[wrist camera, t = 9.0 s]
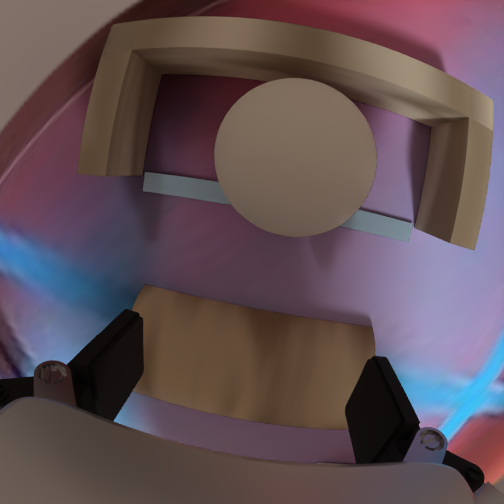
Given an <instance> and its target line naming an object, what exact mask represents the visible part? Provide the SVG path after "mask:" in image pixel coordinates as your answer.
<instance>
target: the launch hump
mask: <svg viewBox="0 0 504 504" xmlns="http://www.w3.org/2000/svg"><path fill="white" fill-rule="evenodd" d="M132 311H135V312H138V313H139V314H140V317H142V318H143V348H144V372H143V375H142V377H141V378H140V380H139V381H138V383H137V385H136V386H135V388H134V389H133V391H134V392H137V393H140V394H143V395H146V396H149V397H152V398H155V399H158V400H162V401H165V402H169V403H172V404H176V405H179V406H183V407H187V408H191V409H195V410H199V411H203V412H207V413H212V414H217V415H221V416H226V417H231V418H237V419H242V420H248V421H254V422H260V423H267V424H275V425H283V426H292V427H302V428H315V429H331V430H344V429H347V428H348V424H347V420H346V416H345V406H346V404H347V402H348V400H349V398H350V396H351V394H352V392H353V390H354V388H355V386H356V383H357V381H358V379H359V377H360V375H361V373H362V370H363V368H364V366H365V364H366V362H367V360H368V359H371V358H372V357H373V356H375V339H374V333H373V328H372V327H368V326H360V325H353V324H346V323H339V322H332V321H326V320H319V319H313V318H307V317H301V316H295V315H289V314H283V313H278V312H272V311H267V310H261V309H256V308H251V307H245V306H240V305H235V304H230V303H225V302H221V301H216V300H211V299H206V298H202V297H197V296H193V295H188V294H184V293H179V292H175V291H171V290H167V289H162V288H158V287H154V286H150V285H146V284H145V285H144V286H143V288H142V289H141V291H140V293H139V295H138V297H137V299H136V301H135V303H134V306H133V308H132Z"/></svg>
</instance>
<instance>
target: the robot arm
mask: <svg viewBox="0 0 504 504" xmlns="http://www.w3.org/2000/svg"><path fill="white" fill-rule="evenodd" d="M143 372H144V348H143V318H142V317H140V314H139V313H138V312H135V311H131V310H128V309H125V310H124V311H123V312H122V313H121V314H120V315H118V316H117V317H116V318H115V319H114V320H113V321H112V322H111V323H110V324H109V325H108V326H107V327H106V328H105V329H104V330H103V331H102V332H101V333H99V334H98V335H97V336H96V337H95V338H94V339H93V340H92V341H91V342H90V343H88V344H87V345H86V346H85V347H84V348H83V349H82V350H81V351H80V352H79V353H78V354H77V355H76V356H75V357H74V358H73V359H72V360H71V361H70V362H69V363H68V364H67V365H66V364H64V363H62V362H59V361H52V360H51V361H45V362H43V363H41V364H39V365H38V366H37V367H36V369H35V370H34V376H33V377H23V378H11V379H0V504H504V494H503V493H501V492H500V491H499V490H498V489H496V488H495V487H494V486H493V485H492V484H490V483H489V482H487V483H486V484H485V483H484V474H483V472H482V470H481V469H480V468H479V467H478V466H477V465H475V464H473V463H471V462H469V461H467V460H465V459H463V458H461V457H459V456H457V455H455V454H453V453H451V452H449V451H447V450H446V449H447V445H448V442H447V439H446V437H445V435H444V434H443V433H442V432H441V431H439V430H437V429H435V428H432V427H425V428H421V429H420V427H419V423H420V421H419V419H418V417H417V415H416V413H415V411H414V409H413V407H412V405H411V403H410V401H409V399H408V397H407V395H406V393H405V391H404V389H403V387H402V385H401V383H400V382H399V380H398V378H397V376H396V374H395V372H394V370H393V368H392V366H391V365H390V363H389V361H388V359H387V358H386V357H380V356H373V357H372V358H371V359H368V360H367V362H366V364H365V366H364V368H363V370H362V373H361V375H360V377H359V379H358V381H357V383H356V386H355V388H354V390H353V392H352V394H351V396H350V398H349V400H348V402H347V404H346V406H345V416H346V420H347V424H348V428H349V433H350V437H351V442H352V446H353V451H354V455H355V460H356V464H311V463H295V462H283V461H273V460H265V459H257V458H250V457H243V456H237V455H232V454H226V453H221V452H216V451H211V450H207V449H202V448H198V447H194V446H190V445H186V444H182V443H178V442H174V441H171V440H167V439H164V438H161V437H157V436H154V435H151V434H148V433H145V432H142V431H139V430H136V429H133V428H130V427H127V426H124V425H122V424H119V423H116V422H114V419H115V418H116V416H117V415H118V413H119V411H120V410H121V408H122V407H123V405H124V403H125V402H126V400H127V399H128V397H129V396H130V394H131V392H132V391H133V389H134V388H135V386H136V385H137V383H138V381H139V380H140V378H141V377H142V375H143Z"/></svg>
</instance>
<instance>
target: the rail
mask: <svg viewBox="0 0 504 504" xmlns="http://www.w3.org/2000/svg"><path fill="white" fill-rule="evenodd" d="M162 74H191V75H210V76H223V77H234V78H244V79H252V80H260V81H267V82H270V81H274V80H278V79H285V78H302V79H309V80H314V81H317V82H321V83H323V84H326V85H328V86H330V87H332V88H334V89H336V90H337V91H339V92H341V93H342V94H343V95H345V96H346V97H347V98H348V99H352V100H355V101H359V102H362V103H366V104H369V105H372V106H375V107H378V108H381V109H384V110H387V111H390V112H393V113H396V114H399V115H402V116H404V117H407V118H410V119H412V120H415V121H418V122H420V123H423V124H425V125H427V126H430V127H431V135H430V144H429V152H428V160H427V166H426V173H425V179H424V185H423V190H422V195H421V200H420V205H419V210H418V215H417V219H416V223H415V228H416V229H418V230H420V231H423V232H425V233H428V234H430V235H432V236H435V237H437V238H439V239H442V240H444V241H446V242H448V243H451V244H455V245H458V246H461V247H465V248H468V249H471V250H475V246H476V242H477V238H478V234H479V230H480V226H481V221H482V216H483V211H484V206H485V200H486V194H487V188H488V181H489V173H490V165H491V154H492V140H493V100H492V99H490V98H489V97H487V96H485V95H484V94H482V93H481V92H479V91H477V90H476V89H474V88H472V87H470V86H469V85H467V84H465V83H463V82H462V81H460V80H458V79H456V78H454V77H452V76H450V75H448V74H446V73H444V72H442V71H440V70H438V69H436V68H434V67H432V66H430V65H428V64H425V63H423V62H421V61H419V60H416V59H414V58H412V57H409V56H407V55H404V54H402V53H399V52H396V51H394V50H391V49H388V48H386V47H383V46H380V45H377V44H374V43H371V42H368V41H364V40H361V39H358V38H354V37H351V36H347V35H343V34H340V33H336V32H332V31H327V30H323V29H318V28H314V27H309V26H303V25H298V24H292V23H285V22H278V21H271V20H262V19H252V18H238V17H213V16H196V17H171V18H158V19H148V20H139V21H132V22H125V23H119V24H113V25H112V27H111V29H110V32H109V35H108V38H107V41H106V44H105V46H104V50H103V53H102V56H101V59H100V62H99V66H98V69H97V73H96V76H95V80H94V84H93V88H92V92H91V96H90V100H89V104H88V109H87V114H86V119H85V124H84V129H83V135H82V141H81V148H80V155H79V162H78V171H77V174H85V175H96V176H140V175H142V174H143V167H144V160H145V154H146V148H147V142H148V136H149V131H150V126H151V121H152V116H153V111H154V106H155V101H156V97H157V93H158V88H159V84H160V80H161V76H162Z"/></svg>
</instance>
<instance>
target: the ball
mask: <svg viewBox="0 0 504 504" xmlns="http://www.w3.org/2000/svg"><path fill="white" fill-rule="evenodd" d="M214 161H215V169H216V174H217V178H218V181H219V184H220V186H221V188H222V191H223V193H224V194H225V196H226V198H227V199H228V201H229V202H230V204H231V205H232V206H233V207H234V209H235V210H236V211H237V212H238V213H239V214H240V215H241V216H242V217H244V218H245V219H246V220H248V221H249V222H250V223H252V224H254V225H255V226H257V227H259V228H261V229H263V230H265V231H268V232H270V233H274V234H277V235H282V236H289V237H306V236H313V235H317V234H321V233H324V232H327V231H330V230H332V229H334V228H336V227H337V226H339V225H341V224H342V223H344V222H345V221H347V220H348V219H349V218H350V217H351V216H352V215H353V214H355V213H356V211H357V210H358V209H359V208H360V207H361V205H362V204H363V202H364V201H365V199H366V198H367V196H368V194H369V192H370V190H371V188H372V184H373V181H374V178H375V173H376V165H377V154H376V145H375V141H374V137H373V134H372V131H371V129H370V126H369V124H368V123H367V121H366V119H365V117H364V116H363V114H362V113H361V111H360V110H359V109H358V108H357V106H356V105H355V104H354V103H353V102H352V101H351V100H350V99H348V98H347V97H346V96H345V95H343V94H342V93H341V92H339V91H337V90H336V89H334V88H332V87H330V86H328V85H326V84H323V83H321V82H317V81H314V80H309V79H302V78H285V79H278V80H274V81H270V82H267V83H264V84H262V85H259V86H257V87H255V88H254V89H252V90H250V91H249V92H247V93H246V94H245V95H243V96H242V97H241V98H240V99H239V100H238V101H237V102H236V103H235V104H234V105H233V106H232V107H231V108H230V110H229V111H228V112H227V114H226V116H225V117H224V119H223V121H222V123H221V125H220V128H219V131H218V133H217V138H216V142H215V150H214Z"/></svg>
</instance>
